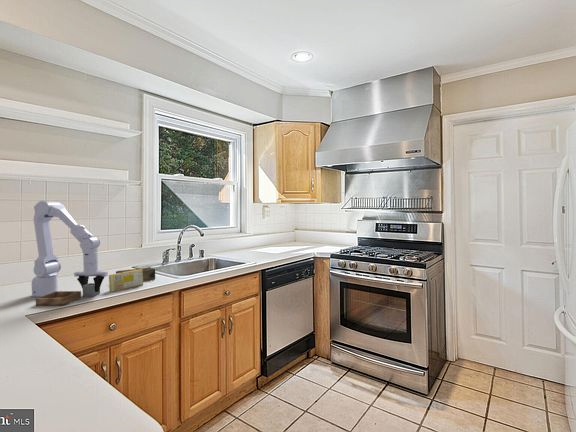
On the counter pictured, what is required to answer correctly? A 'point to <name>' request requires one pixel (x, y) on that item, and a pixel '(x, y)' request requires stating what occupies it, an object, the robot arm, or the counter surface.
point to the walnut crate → (58, 298)
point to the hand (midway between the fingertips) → (91, 291)
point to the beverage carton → (147, 273)
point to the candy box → (125, 280)
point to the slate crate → (89, 290)
